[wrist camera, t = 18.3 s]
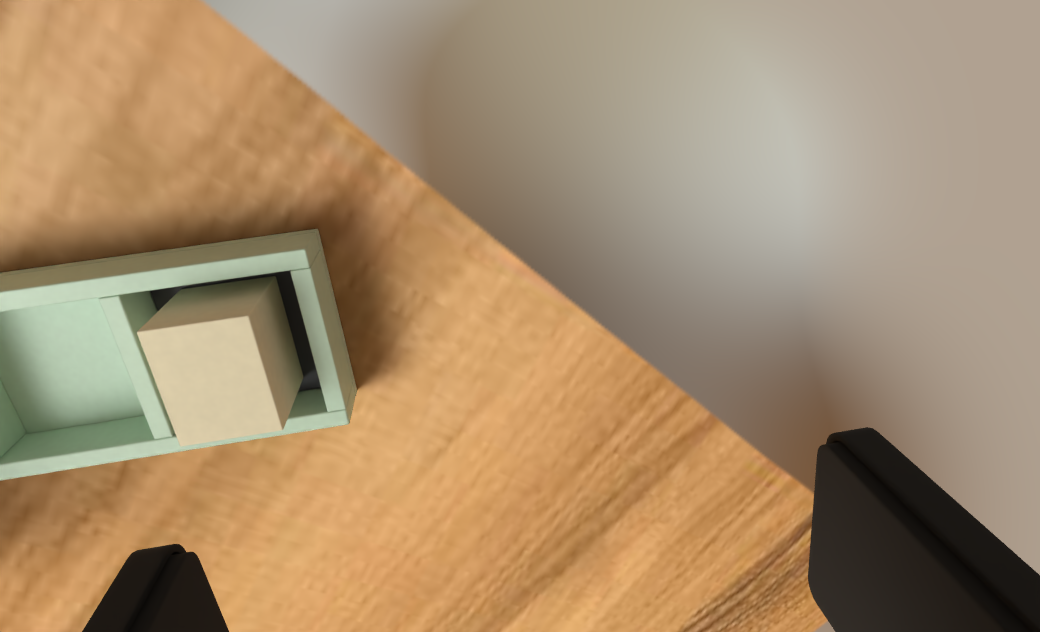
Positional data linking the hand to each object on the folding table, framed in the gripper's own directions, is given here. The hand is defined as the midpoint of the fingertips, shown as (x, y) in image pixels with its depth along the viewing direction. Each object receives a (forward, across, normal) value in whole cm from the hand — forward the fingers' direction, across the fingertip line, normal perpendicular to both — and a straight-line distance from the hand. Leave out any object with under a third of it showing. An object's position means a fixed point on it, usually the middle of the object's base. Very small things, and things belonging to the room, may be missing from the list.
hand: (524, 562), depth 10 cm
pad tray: (+20, +14, +3) cm, 25 cm away
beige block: (+20, +11, +3) cm, 23 cm away
